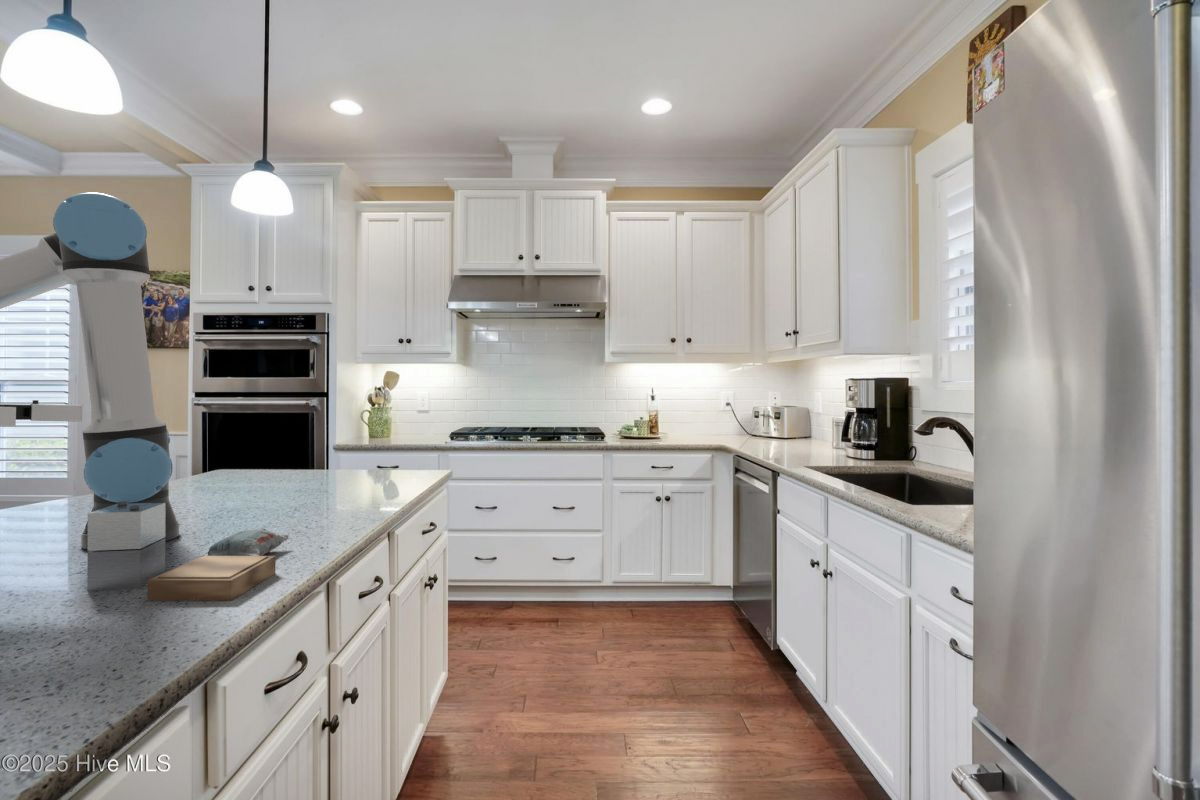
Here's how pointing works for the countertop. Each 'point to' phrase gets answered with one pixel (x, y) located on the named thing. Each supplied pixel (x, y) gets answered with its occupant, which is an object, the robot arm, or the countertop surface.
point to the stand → (211, 578)
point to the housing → (125, 545)
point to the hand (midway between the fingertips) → (50, 414)
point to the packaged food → (247, 543)
